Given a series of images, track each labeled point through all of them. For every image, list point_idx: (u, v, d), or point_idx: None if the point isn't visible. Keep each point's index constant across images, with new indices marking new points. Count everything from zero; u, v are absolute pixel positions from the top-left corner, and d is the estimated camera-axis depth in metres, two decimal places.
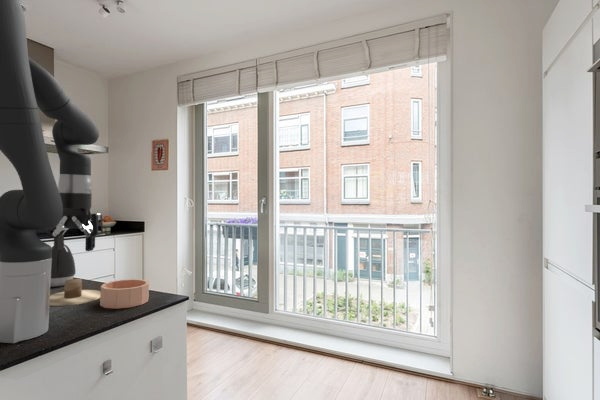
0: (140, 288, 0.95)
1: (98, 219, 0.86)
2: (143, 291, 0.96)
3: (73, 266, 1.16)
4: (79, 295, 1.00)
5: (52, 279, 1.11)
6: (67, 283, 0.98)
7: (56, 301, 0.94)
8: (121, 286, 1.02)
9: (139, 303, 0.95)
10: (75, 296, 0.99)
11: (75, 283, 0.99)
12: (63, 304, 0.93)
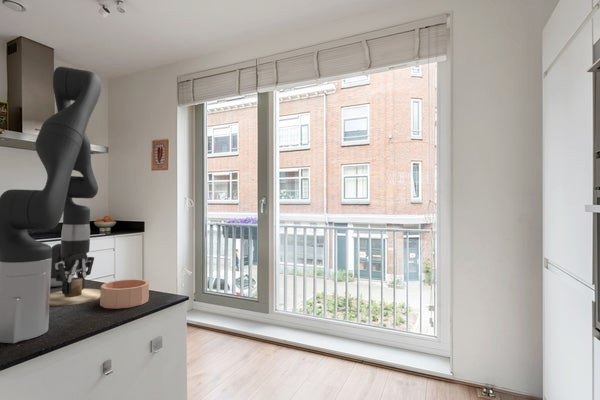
0: (140, 288, 0.95)
1: None
2: (143, 291, 0.96)
3: None
4: (79, 294, 1.00)
5: (52, 279, 1.11)
6: None
7: (56, 300, 0.95)
8: (121, 286, 1.02)
9: (139, 303, 0.95)
10: (75, 295, 0.99)
11: (75, 282, 0.99)
12: (63, 303, 0.93)
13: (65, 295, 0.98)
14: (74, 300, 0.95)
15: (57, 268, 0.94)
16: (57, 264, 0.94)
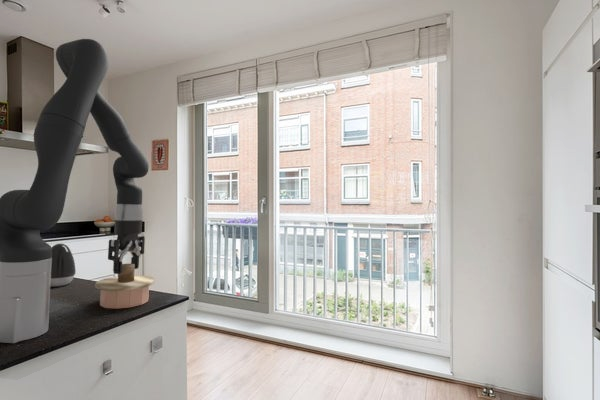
0: (140, 288, 0.95)
1: None
2: (143, 291, 0.96)
3: (73, 266, 1.16)
4: (132, 279, 0.98)
5: (52, 279, 1.11)
6: None
7: (112, 285, 0.93)
8: None
9: (139, 303, 0.95)
10: (129, 280, 0.97)
11: (129, 267, 0.97)
12: (120, 287, 0.91)
13: (119, 281, 0.96)
14: (130, 285, 0.93)
15: (113, 244, 0.92)
16: (114, 240, 0.92)
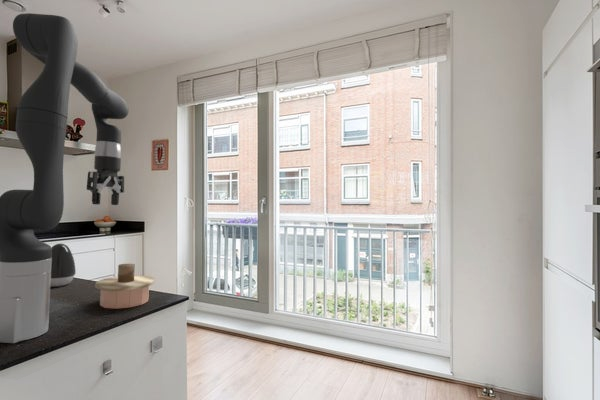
0: (140, 288, 0.95)
1: None
2: (143, 291, 0.96)
3: (73, 266, 1.16)
4: (132, 279, 0.98)
5: (52, 279, 1.11)
6: (121, 267, 0.96)
7: (112, 285, 0.93)
8: None
9: (139, 303, 0.95)
10: (129, 280, 0.97)
11: (129, 267, 0.97)
12: (120, 287, 0.91)
13: (119, 281, 0.96)
14: (130, 285, 0.93)
15: (91, 175, 0.99)
16: (92, 172, 0.99)
